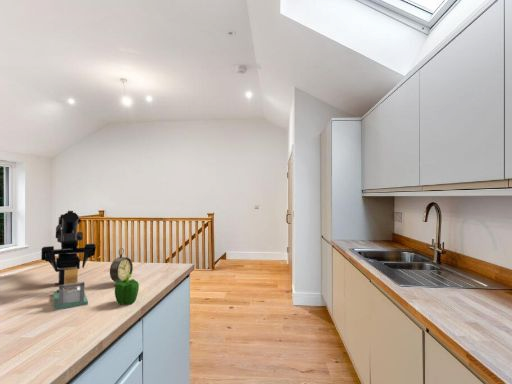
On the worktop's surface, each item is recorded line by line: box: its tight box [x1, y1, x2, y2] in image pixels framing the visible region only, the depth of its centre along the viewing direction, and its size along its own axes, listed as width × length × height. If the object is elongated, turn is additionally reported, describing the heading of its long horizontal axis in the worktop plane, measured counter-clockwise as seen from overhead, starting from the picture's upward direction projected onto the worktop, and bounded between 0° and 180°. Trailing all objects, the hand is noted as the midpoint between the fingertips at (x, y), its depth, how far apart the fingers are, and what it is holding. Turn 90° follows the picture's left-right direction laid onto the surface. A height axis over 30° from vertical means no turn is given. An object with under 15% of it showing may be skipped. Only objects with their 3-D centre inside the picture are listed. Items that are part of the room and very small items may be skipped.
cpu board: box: [53, 281, 89, 311], centre depth 111 cm, size 20×10×8 cm, turn 36°
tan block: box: [63, 267, 79, 293], centre depth 106 cm, size 10×4×10 cm, turn 36°
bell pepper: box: [114, 274, 140, 305], centre depth 108 cm, size 8×8×10 cm
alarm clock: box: [109, 247, 134, 283], centre depth 132 cm, size 11×5×16 cm, turn 168°
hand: (69, 268), depth 115 cm, fingers open, 9 cm apart
